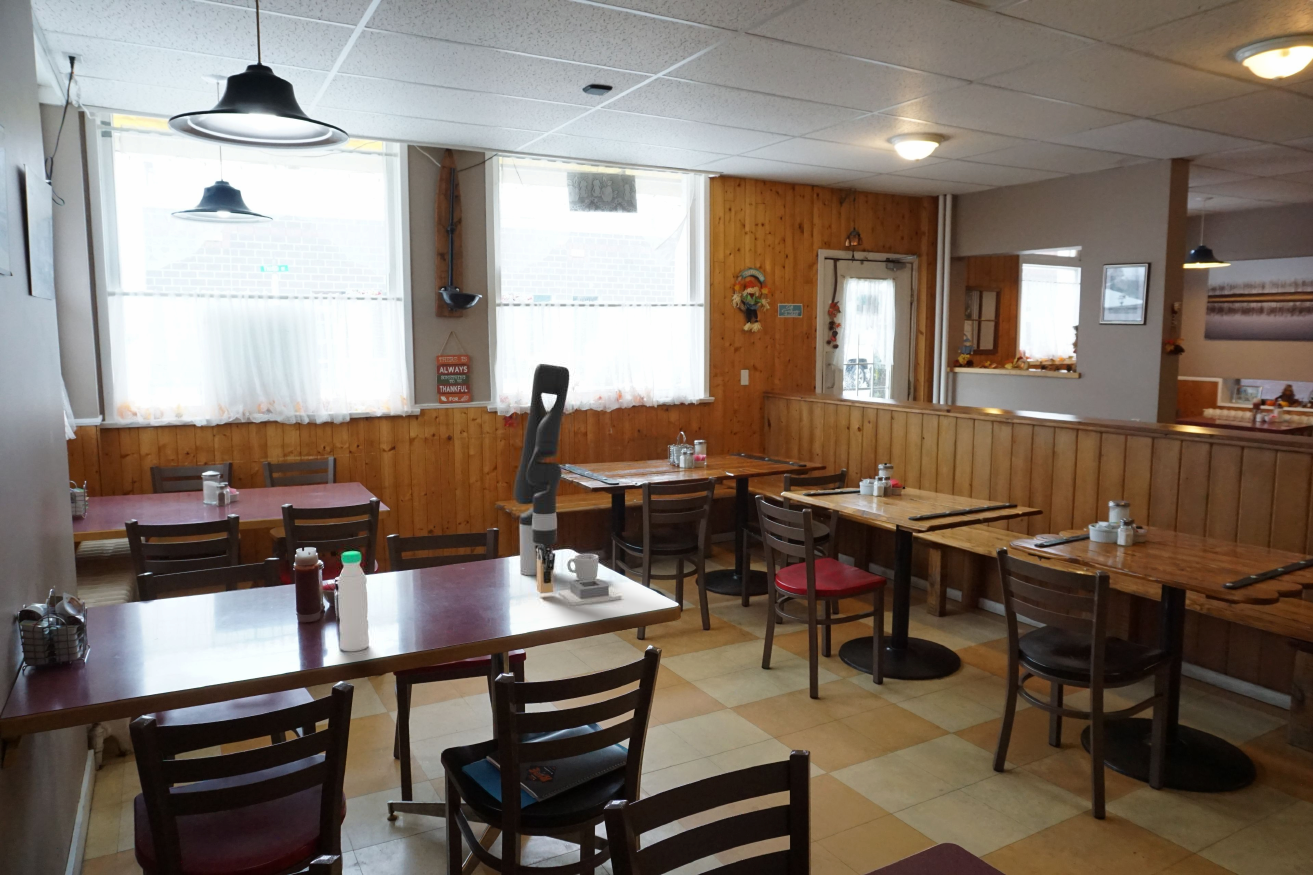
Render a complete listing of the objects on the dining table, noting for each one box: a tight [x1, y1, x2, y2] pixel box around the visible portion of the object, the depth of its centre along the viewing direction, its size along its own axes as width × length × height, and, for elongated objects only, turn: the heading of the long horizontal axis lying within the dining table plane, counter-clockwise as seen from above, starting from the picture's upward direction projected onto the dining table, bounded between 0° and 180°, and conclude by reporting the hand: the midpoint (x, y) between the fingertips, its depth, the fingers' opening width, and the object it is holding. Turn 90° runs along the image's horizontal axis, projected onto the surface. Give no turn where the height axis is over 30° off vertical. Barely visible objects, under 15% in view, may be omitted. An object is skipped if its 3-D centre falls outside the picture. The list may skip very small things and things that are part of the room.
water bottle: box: [337, 550, 370, 653], centre depth 222 cm, size 7×7×25 cm
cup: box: [567, 553, 599, 581], centre depth 289 cm, size 11×8×8 cm
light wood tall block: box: [536, 559, 554, 594], centre depth 269 cm, size 4×4×12 cm
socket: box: [557, 578, 622, 606], centre depth 269 cm, size 13×16×4 cm
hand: (545, 580), depth 269 cm, fingers closed on light wood tall block, 4 cm apart
